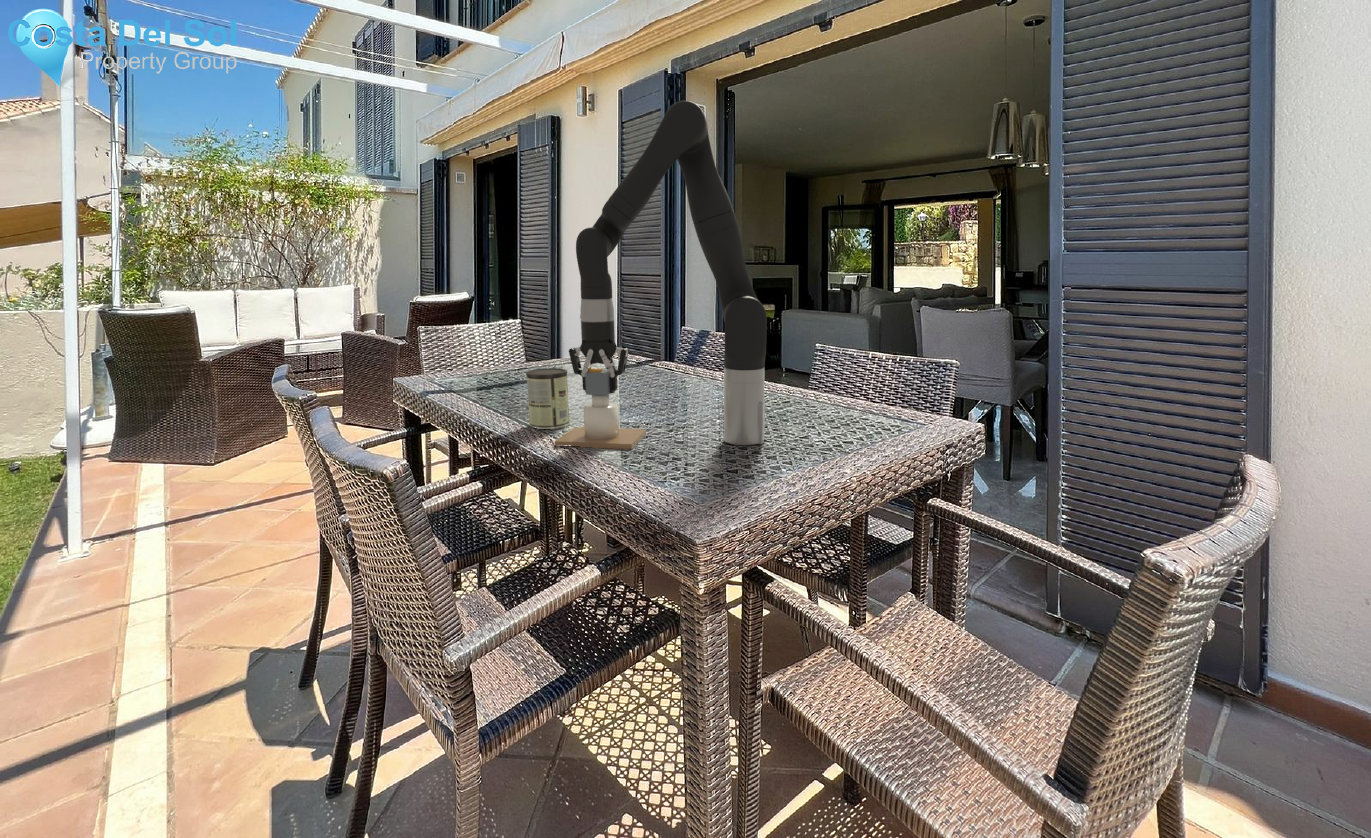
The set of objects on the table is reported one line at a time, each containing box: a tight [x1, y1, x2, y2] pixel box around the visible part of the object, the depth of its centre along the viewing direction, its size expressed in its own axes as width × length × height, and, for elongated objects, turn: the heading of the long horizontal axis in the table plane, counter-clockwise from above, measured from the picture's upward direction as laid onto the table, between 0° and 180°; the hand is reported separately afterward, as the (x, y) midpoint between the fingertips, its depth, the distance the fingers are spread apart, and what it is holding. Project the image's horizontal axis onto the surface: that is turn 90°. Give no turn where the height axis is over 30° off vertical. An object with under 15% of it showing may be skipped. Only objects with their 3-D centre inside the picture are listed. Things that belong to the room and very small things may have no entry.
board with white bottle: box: [554, 394, 647, 450], centre depth 165 cm, size 18×14×11 cm
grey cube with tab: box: [585, 367, 612, 396], centre depth 163 cm, size 5×5×6 cm
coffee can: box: [525, 367, 570, 430], centre depth 181 cm, size 10×10×14 cm
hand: (600, 392), depth 164 cm, fingers closed on grey cube with tab, 5 cm apart
